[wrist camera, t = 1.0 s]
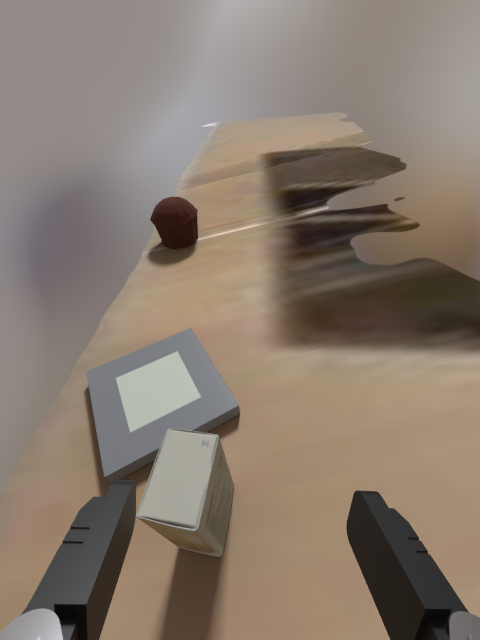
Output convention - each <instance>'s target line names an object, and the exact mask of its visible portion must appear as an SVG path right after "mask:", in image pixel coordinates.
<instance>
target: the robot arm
mask: <svg viewBox="0 0 480 640" xmlns="http://www.w3.org/2000/svg"><path fill="white" fill-rule="evenodd" d="M135 517H136V481H129V480H113V481H112V483H111V485H110V487H109V489H108V491H107V493H106V495H105V497H93V498H92V499H91V500H90V501H89V502H88V503H87V504H86V505H85V506H84V507H82V508H81V509H80V510H79V512H78V514H77V516H76V518H75V520H74V521H73V523H72V525H71V527H70V530H69V531H68V532H67V534H66V536H65V538H64V540H63V543H62V545H60V547H59V549H58V551H57V553H56V555H55V556H54V558H53V560H52V562H51V564H50V566H49V567H48V569H47V571H46V573H45V575H44V577H43V578H42V580H41V582H40V584H39V586H38V588H37V589H36V591H35V593H34V595H33V597H32V599H31V600H30V602H29V604H28V605H27V607H26V609H25V610H24V611H23V613H22V614H21V615H20V616H19V617H18V618H16V619H15V620H13V621H12V622H11V623H10V624H9V625H7V626H6V627H5V628H4V629H3V630H2V631H1V633H0V640H99V638H100V635H101V632H102V629H103V625H104V622H105V619H106V616H107V613H108V610H109V606H110V603H111V600H112V597H113V594H114V591H115V587H116V584H117V581H118V578H119V575H120V572H121V568H122V565H123V562H124V559H125V556H126V553H127V550H128V546H129V543H130V540H131V537H132V533H133V529H134V524H135ZM347 535H348V539H349V543H350V545H351V547H352V550H353V552H354V555H355V557H356V559H357V562H358V564H359V566H360V569H361V571H362V574H363V576H364V578H365V581H366V583H367V585H368V588H369V590H370V592H371V595H372V597H373V600H374V602H375V604H376V607H377V609H378V611H379V614H380V616H381V618H382V621H383V623H384V626H385V628H386V630H387V633H388V635H389V637H390V640H480V618H479V617H477V616H475V615H473V614H471V613H469V612H468V611H467V609H466V608H465V606H464V605H463V603H462V602H461V600H460V599H459V597H458V596H457V594H456V593H455V591H454V590H453V588H452V587H451V585H450V584H449V582H448V581H447V579H446V578H445V576H444V575H443V573H442V572H441V570H440V569H439V567H438V566H437V564H436V563H435V561H434V560H433V558H432V557H431V555H429V554H428V551H427V549H426V548H425V546H424V545H423V543H422V542H421V541H419V537H418V536H417V534H416V533H415V531H414V530H413V528H412V527H411V525H410V524H409V522H408V521H407V520H406V519H405V518H403V517H402V516H401V515H400V514H399V513H398V512H397V511H396V510H395V509H393V508H388V506H387V504H386V503H385V501H384V500H383V498H382V496H381V495H380V494H379V493H378V492H376V491H355V493H354V495H353V499H352V503H351V507H350V512H349V516H348V520H347Z"/></svg>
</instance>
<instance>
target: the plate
mask: <svg viewBox="0 0 480 640" xmlns="http://www.w3.org/2000/svg"><path fill="white" fill-rule="evenodd" d="M86 373H87V379H88V385H89V391H90V397H91V402H92V408H93V414H94V420H95V426H96V432H97V437H98V443H99V449H100V455H101V461H102V467H103V473H104V477H105V478H106V479H107V480H108V481H109V482H110V483H112V481H113V480H120V479H122V478H123V477H125V476H127V475H129V474H131V473H133V472H134V471H136V470H138V469H140V468H142V467H144V466H145V465H147V464H149V463H151V462H153V461H155V459H156V457H157V454H158V451H159V449H160V446H161V443H162V441H163V439H164V436H165V434H166V432H167V430H168V429H169V428H172V429H183V430H191V431H197V432H203V433H206V432H208V431H209V430H211V429H213V428H215V427H217V426H219V425H220V424H222V423H224V422H226V421H228V420H230V419H231V418H233V417H235V416H237V415H239V414H240V410H239V405H238V403H237V402H236V400H235V399H234V397H233V395H232V394H231V392H230V390H229V389H228V387H227V386H226V384H225V382H224V381H223V379H222V378H221V376H220V374H219V373H218V371H217V369H216V368H215V366H214V365H213V363H212V361H211V360H210V358H209V357H208V355H207V353H206V352H205V350H204V348H203V347H202V345H201V344H200V342H199V340H198V339H197V337H196V336H195V334H194V332H193V331H192V329H191V328H190V329H187V330H185V331H182V332H180V333H178V334H175V335H173V336H170V337H168V338H166V339H163V340H161V341H158V342H156V343H154V344H151V345H149V346H146V347H144V348H142V349H139V350H137V351H134V352H132V353H130V354H127V355H125V356H123V357H120V358H118V359H115V360H113V361H111V362H108V363H106V364H103V365H101V366H99V367H96V368H94V369H91V370H89V371H87V372H86Z"/></svg>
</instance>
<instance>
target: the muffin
mask: <svg viewBox="0 0 480 640" xmlns="http://www.w3.org/2000/svg"><path fill="white" fill-rule="evenodd" d="M150 220H151V221H152V222H153V224H154V225H155V227H156V229H157V231H158V233H159V235H160V237H161V239H162V242H163V244H164V246H165V247H169V248H172V249H176V248H185V247H187V246H189V245H191V244H194V243H195V241H196V240H197V239H198V228H197V209H196V208H195V207H194V206H193V205H192V204H191V203H190V202H188V201H187V200H185V199H183V198H180V197H169V198H166V199H163V200H162V201H160V202H159V203H158V204H157V205H156V207H155V208H154V211H153V214H152V216H151V219H150Z"/></svg>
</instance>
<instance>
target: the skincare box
mask: <svg viewBox="0 0 480 640" xmlns="http://www.w3.org/2000/svg"><path fill="white" fill-rule="evenodd" d="M233 490H234V483H233V480H232V477H231V474H230V471H229V467H228V464H227V461H226V457H225V454H224V451H223V448H222V444H221V441H220V438H219V435H217V434H210V433H203V432H197V431H191V430H183V429H172V428H169V429H168V430H167V432H166V434H165V436H164V439H163V441H162V443H161V446H160V449H159V451H158V454H157V457H156V459H155V462H154V465H153V468H152V470H151V473H150V476H149V479H148V482H147V485H146V488H145V491H144V494H143V497H142V500H141V503H140V506H139V509H138V512H137V515H136V516H137V518H139V519H140V520H142V521H143V522H144V523H146V524H147V525H149V526H150V527H151V528H153V529H154V530H155V531H157V532H158V533H160V534H161V535H162V536H164V537H165V538H167V539H168V540H169V541H171V542H172V543H174V544H175V545H176V546H178V547H179V548H182V549H186V550H189V551H194V552H197V553H201V554H206V555H210V556H215V557H221V556H222V555H223V550H224V545H225V540H226V534H227V529H228V523H229V517H230V511H231V504H232V497H233Z"/></svg>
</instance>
